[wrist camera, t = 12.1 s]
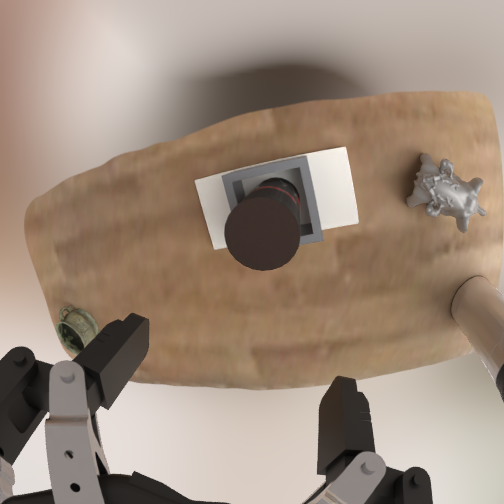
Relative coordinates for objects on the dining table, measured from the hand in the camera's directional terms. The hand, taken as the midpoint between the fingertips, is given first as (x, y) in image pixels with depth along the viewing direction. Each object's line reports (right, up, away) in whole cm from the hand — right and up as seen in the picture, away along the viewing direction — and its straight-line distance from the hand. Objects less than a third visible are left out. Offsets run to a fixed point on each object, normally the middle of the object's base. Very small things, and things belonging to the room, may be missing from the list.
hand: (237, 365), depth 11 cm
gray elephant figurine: (+27, +14, +21) cm, 37 cm away
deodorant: (+4, +11, +25) cm, 28 cm away
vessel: (-36, -11, +41) cm, 56 cm away
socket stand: (+4, +12, +26) cm, 28 cm away
